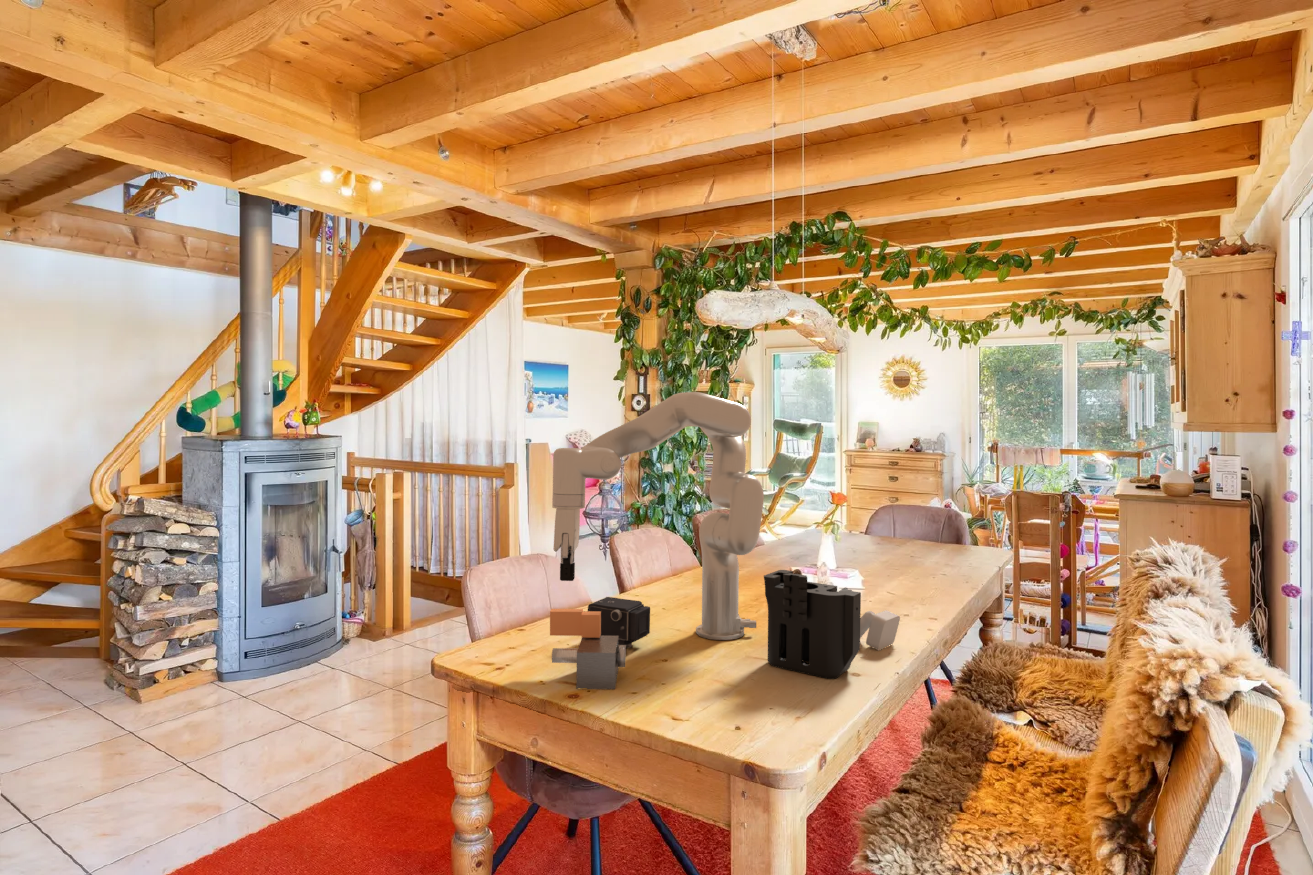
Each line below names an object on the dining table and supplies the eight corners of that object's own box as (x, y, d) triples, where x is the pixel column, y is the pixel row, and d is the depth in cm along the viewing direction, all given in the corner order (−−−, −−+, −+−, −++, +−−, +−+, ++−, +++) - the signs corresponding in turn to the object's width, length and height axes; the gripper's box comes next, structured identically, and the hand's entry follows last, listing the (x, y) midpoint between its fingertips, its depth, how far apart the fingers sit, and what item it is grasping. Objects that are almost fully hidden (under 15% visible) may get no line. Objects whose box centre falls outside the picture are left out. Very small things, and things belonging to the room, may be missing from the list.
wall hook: (856, 633, 191) (864, 597, 189) (891, 651, 184) (901, 614, 182) (839, 639, 185) (848, 603, 183) (875, 658, 178) (885, 621, 176)
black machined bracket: (780, 654, 176) (781, 562, 175) (864, 672, 163) (865, 573, 163) (756, 667, 166) (757, 570, 166) (843, 687, 154) (845, 583, 153)
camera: (583, 650, 180) (636, 654, 173) (579, 604, 181) (632, 606, 174) (606, 639, 190) (657, 641, 183) (603, 595, 190) (653, 596, 183)
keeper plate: (600, 633, 164) (600, 608, 164) (599, 637, 161) (599, 612, 161) (551, 633, 164) (551, 608, 164) (549, 637, 161) (549, 611, 161)
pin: (625, 662, 160) (625, 642, 160) (624, 670, 156) (624, 648, 155) (554, 662, 160) (554, 641, 160) (551, 669, 156) (551, 648, 155)
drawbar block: (618, 669, 164) (618, 635, 164) (615, 689, 152) (615, 652, 152) (582, 669, 164) (582, 635, 164) (576, 688, 152) (576, 652, 152)
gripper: (557, 497, 177) (555, 573, 178) (547, 504, 163) (546, 586, 163) (588, 498, 177) (586, 573, 178) (581, 505, 162) (579, 587, 163)
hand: (567, 579), depth 170 cm, fingers closed
